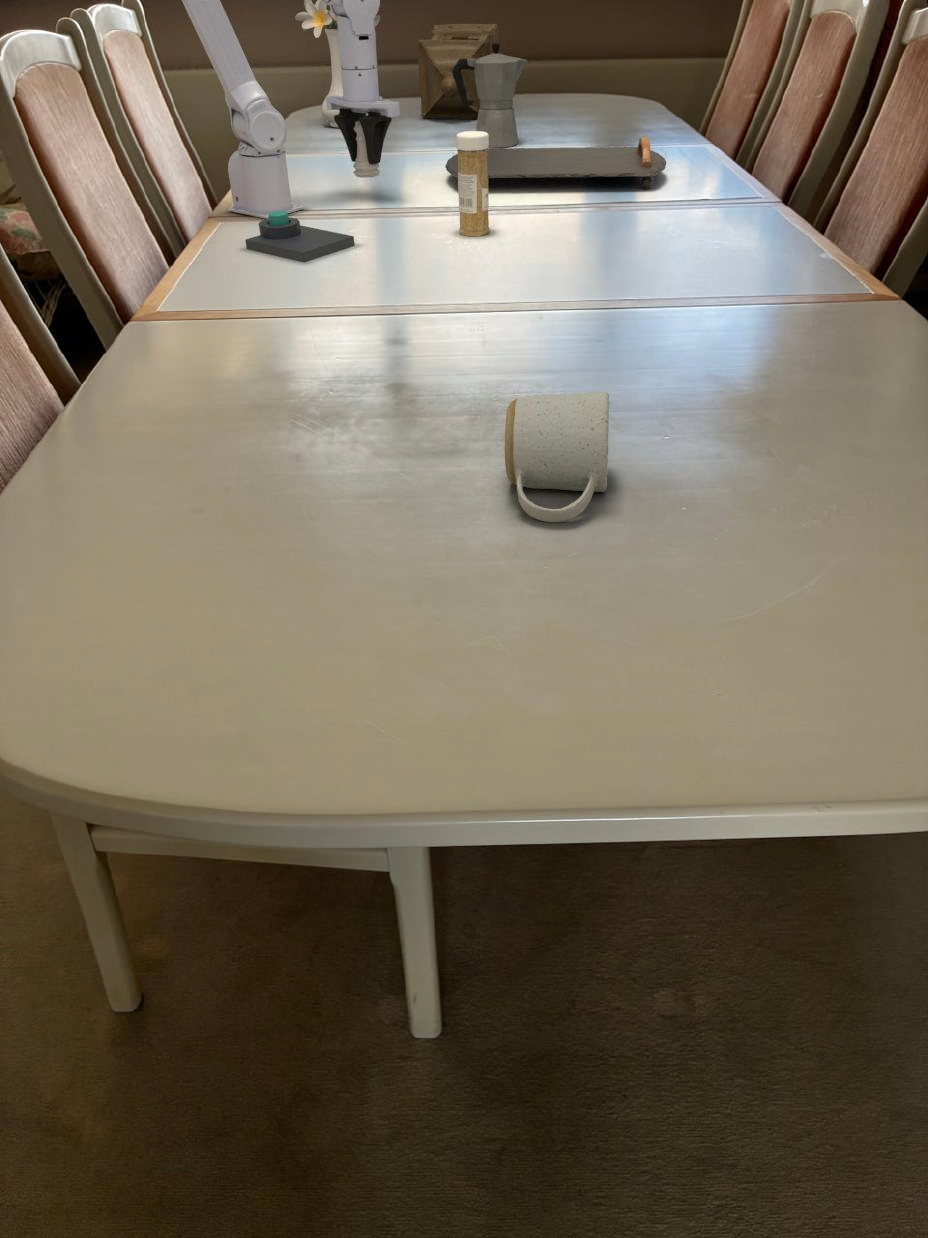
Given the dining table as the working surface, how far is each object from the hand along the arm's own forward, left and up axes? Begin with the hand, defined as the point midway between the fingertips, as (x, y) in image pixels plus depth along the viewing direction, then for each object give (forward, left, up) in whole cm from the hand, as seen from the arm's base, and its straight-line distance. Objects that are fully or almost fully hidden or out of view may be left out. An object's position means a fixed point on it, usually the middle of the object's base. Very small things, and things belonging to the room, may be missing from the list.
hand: (366, 161), depth 159 cm
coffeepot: (-11, +48, -6) cm, 50 cm away
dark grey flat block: (+13, -28, -6) cm, 31 cm away
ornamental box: (-42, +75, -6) cm, 86 cm away
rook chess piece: (0, 0, -2) cm, 2 cm away
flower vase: (-54, +49, -6) cm, 73 cm away
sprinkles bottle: (+29, -8, -6) cm, 31 cm away
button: (+9, -28, -3) cm, 29 cm away
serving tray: (+18, +29, -6) cm, 35 cm away
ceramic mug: (+84, -66, -6) cm, 107 cm away
